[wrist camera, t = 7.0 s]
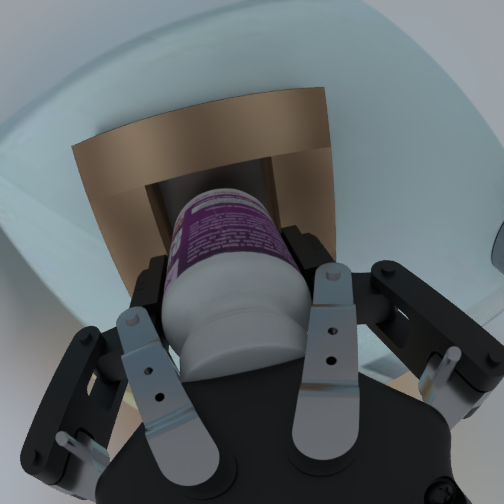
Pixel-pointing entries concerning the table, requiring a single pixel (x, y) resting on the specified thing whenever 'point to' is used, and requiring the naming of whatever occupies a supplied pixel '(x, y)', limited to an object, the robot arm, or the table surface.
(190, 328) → the pill bottle
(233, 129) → the well block
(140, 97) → the table surface
